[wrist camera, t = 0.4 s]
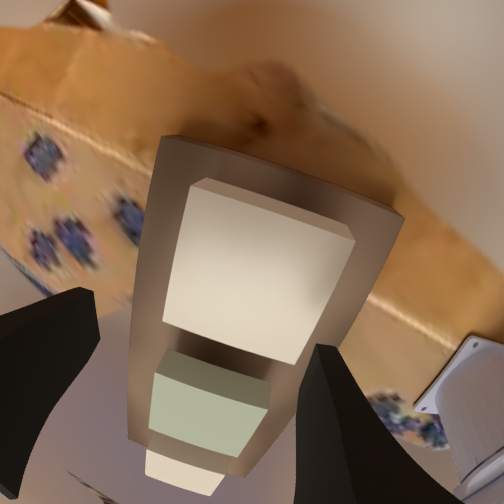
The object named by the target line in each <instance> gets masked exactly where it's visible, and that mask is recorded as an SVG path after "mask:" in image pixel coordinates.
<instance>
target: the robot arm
mask: <svg viewBox="0 0 504 504" xmlns="http://www.w3.org/2000/svg"><path fill="white" fill-rule="evenodd" d="M99 341H100V333H99V327H98V321H97V314H96V307H95V299H94V291H91V290H88V289H85V288H82V287H77V288H73V289H70V290H67V291H64V292H62V293H59V294H56V295H53V296H51V297H48V298H46V299H43V300H41V301H38V302H36V303H33V304H31V305H28V306H26V307H23V308H20V309H17V310H14V311H12V312H9V313H6V314H3V315H0V492H1V493H2V494H3V495H5V496H6V497H7V498H8V499H17V498H18V495H19V490H20V486H21V482H22V478H23V475H24V471H25V468H26V465H27V463H28V460H29V457H30V454H31V452H32V449H33V447H34V444H35V442H36V440H37V438H38V436H39V433H40V431H41V429H42V427H43V426H44V424H45V422H46V420H47V418H48V416H49V414H50V412H51V411H52V409H53V408H54V406H55V405H56V403H57V402H58V401H59V399H60V398H61V397H62V395H63V394H64V393H65V391H66V390H67V389H68V387H69V386H70V385H71V383H72V382H73V381H74V379H75V378H76V377H77V375H78V374H79V373H80V371H81V370H82V369H83V367H84V366H85V364H86V363H87V362H88V360H89V359H90V357H91V355H92V353H93V352H94V350H95V348H96V346H97V344H98V342H99ZM474 343H475V344H474ZM413 408H414V411H415V412H423V413H432V414H439V416H440V419H441V422H442V425H443V428H444V431H445V434H446V437H447V440H448V443H449V446H450V449H451V452H452V455H453V459H454V462H455V465H456V469H457V473H458V476H459V480H460V483H461V484H460V485H459V486H458V487H456V488H454V489H453V493H454V495H453V494H451V493H450V492H448V491H447V490H446V489H445V488H443V487H442V486H441V485H440V484H439V483H437V482H436V481H435V480H434V479H433V478H432V477H431V476H430V475H428V474H427V473H426V472H425V471H424V470H423V469H422V468H421V467H420V466H419V465H418V464H417V463H416V462H415V461H414V460H413V459H412V458H411V457H410V455H409V454H407V452H406V451H405V450H404V449H403V448H402V446H401V445H400V444H399V443H398V442H397V441H396V439H395V438H394V437H393V436H392V435H391V433H390V432H389V431H388V429H387V428H386V427H385V425H384V424H383V423H382V421H381V420H380V418H379V417H378V416H377V414H376V413H375V411H374V410H373V408H372V407H371V405H370V404H369V402H368V400H367V399H366V397H365V396H364V394H363V392H362V391H361V389H360V388H359V386H358V384H357V383H356V381H355V379H354V377H353V376H352V374H351V372H350V370H349V369H348V367H347V365H346V363H345V362H344V360H343V358H342V356H341V354H340V353H339V351H338V349H337V348H336V346H331V345H324V344H318V343H316V344H315V347H314V350H313V353H312V356H311V358H310V361H309V364H308V366H307V369H306V372H305V374H304V377H303V380H302V382H301V385H300V387H299V393H298V402H297V411H296V487H295V496H294V503H293V504H504V345H503V344H500V343H496V342H493V341H490V340H487V339H483V338H480V337H477V336H474V335H471V336H469V337H468V338H467V339H466V340H465V341H464V343H463V344H462V346H461V347H460V349H459V350H458V351H457V353H456V354H455V355H454V357H453V358H452V360H451V361H450V362H449V364H448V365H447V366H446V367H445V369H444V370H443V371H442V373H441V374H440V375H439V376H438V378H437V379H436V380H435V381H434V383H433V384H432V385H431V386H430V387H429V389H428V390H427V391H426V392H425V393H424V394H423V396H422V397H421V398H420V399H419V400H418V401H417V402H416V404H415V405H414V406H413Z"/></svg>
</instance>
